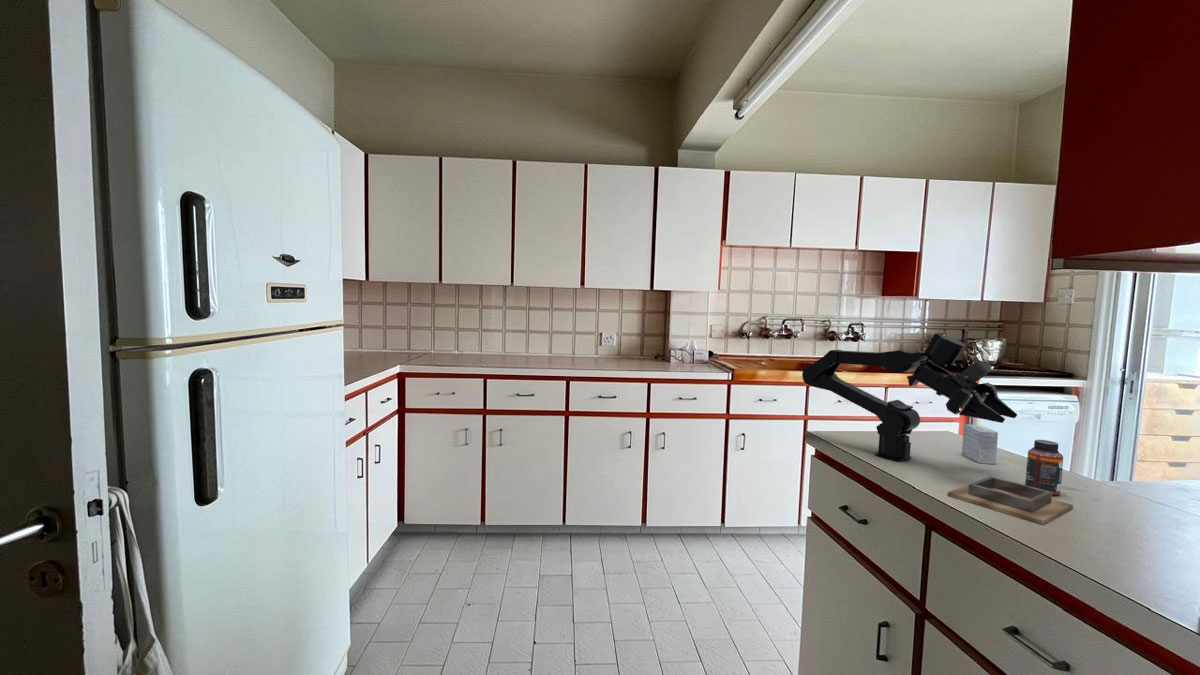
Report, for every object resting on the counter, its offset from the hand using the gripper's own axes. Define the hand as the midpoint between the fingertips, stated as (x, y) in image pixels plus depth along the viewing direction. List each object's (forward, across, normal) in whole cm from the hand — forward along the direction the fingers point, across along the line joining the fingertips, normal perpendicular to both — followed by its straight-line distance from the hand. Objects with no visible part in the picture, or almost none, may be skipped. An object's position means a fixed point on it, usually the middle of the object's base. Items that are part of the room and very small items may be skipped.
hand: (1010, 418), depth 114 cm
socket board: (+10, -13, +12) cm, 20 cm away
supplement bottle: (+12, +2, +12) cm, 17 cm away
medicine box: (-3, +19, +19) cm, 27 cm away
